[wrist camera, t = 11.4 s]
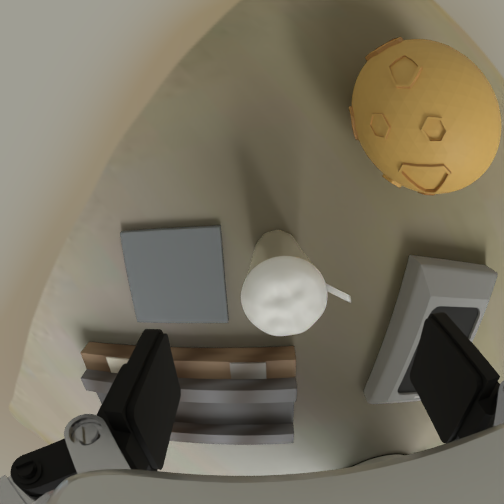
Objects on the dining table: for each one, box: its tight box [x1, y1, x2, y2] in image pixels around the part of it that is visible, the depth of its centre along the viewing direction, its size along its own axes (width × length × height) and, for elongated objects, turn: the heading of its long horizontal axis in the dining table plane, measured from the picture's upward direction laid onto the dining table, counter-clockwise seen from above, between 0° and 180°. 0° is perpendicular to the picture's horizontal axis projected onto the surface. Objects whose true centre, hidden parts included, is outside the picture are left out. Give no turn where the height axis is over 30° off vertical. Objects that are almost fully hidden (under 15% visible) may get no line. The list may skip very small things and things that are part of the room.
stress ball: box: [349, 37, 501, 195], centre depth 15 cm, size 10×10×10 cm
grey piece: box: [81, 342, 297, 445], centre depth 27 cm, size 20×12×4 cm, turn 93°
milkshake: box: [241, 229, 352, 336], centre depth 19 cm, size 5×5×10 cm
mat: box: [120, 225, 229, 323], centre depth 24 cm, size 8×8×1 cm
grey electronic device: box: [363, 255, 497, 404], centre depth 25 cm, size 10×4×15 cm
